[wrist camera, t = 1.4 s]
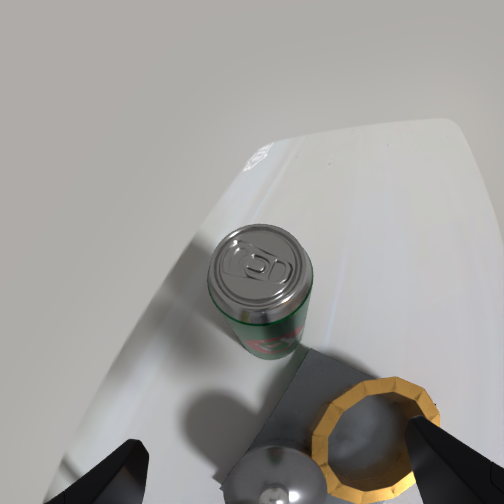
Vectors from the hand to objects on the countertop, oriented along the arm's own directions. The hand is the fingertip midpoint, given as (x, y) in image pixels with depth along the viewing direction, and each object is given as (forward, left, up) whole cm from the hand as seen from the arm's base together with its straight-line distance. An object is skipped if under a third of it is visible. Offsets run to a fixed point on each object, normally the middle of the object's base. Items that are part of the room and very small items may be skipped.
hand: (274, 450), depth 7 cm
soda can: (+6, +4, -14) cm, 16 cm away
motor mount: (-1, -5, -14) cm, 15 cm away
